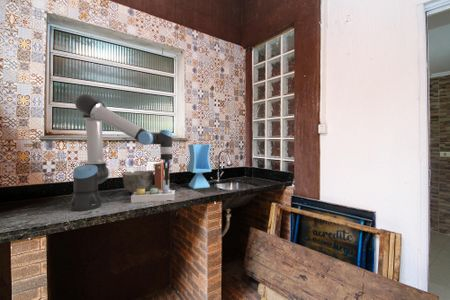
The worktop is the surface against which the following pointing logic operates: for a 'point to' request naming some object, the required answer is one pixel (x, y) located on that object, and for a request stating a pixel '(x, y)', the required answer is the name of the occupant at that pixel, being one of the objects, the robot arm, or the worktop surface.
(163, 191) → the button blue
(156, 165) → the cracker box
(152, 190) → the button sage
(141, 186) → the bowl
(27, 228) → the worktop surface
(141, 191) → the button mustard
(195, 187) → the planter
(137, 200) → the console
